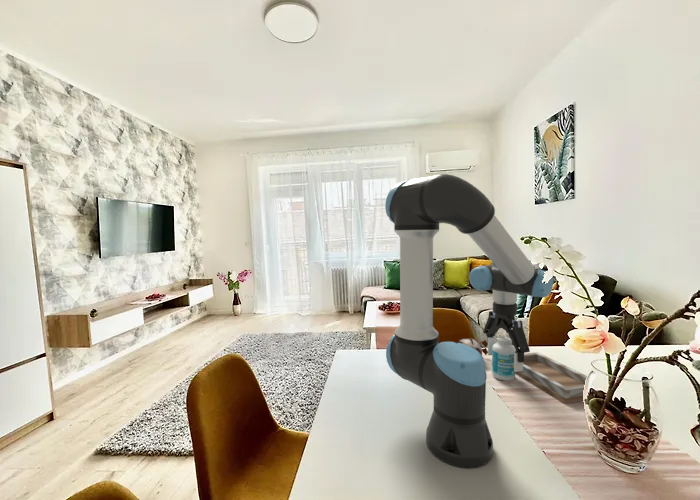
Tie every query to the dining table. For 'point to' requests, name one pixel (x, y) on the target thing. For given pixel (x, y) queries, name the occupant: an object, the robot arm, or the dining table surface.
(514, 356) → the robot arm
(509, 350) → the pill bottle
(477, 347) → the decorative duck model
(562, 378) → the grey rimmed shallow tray
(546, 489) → the dining table surface
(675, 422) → the dining table surface
